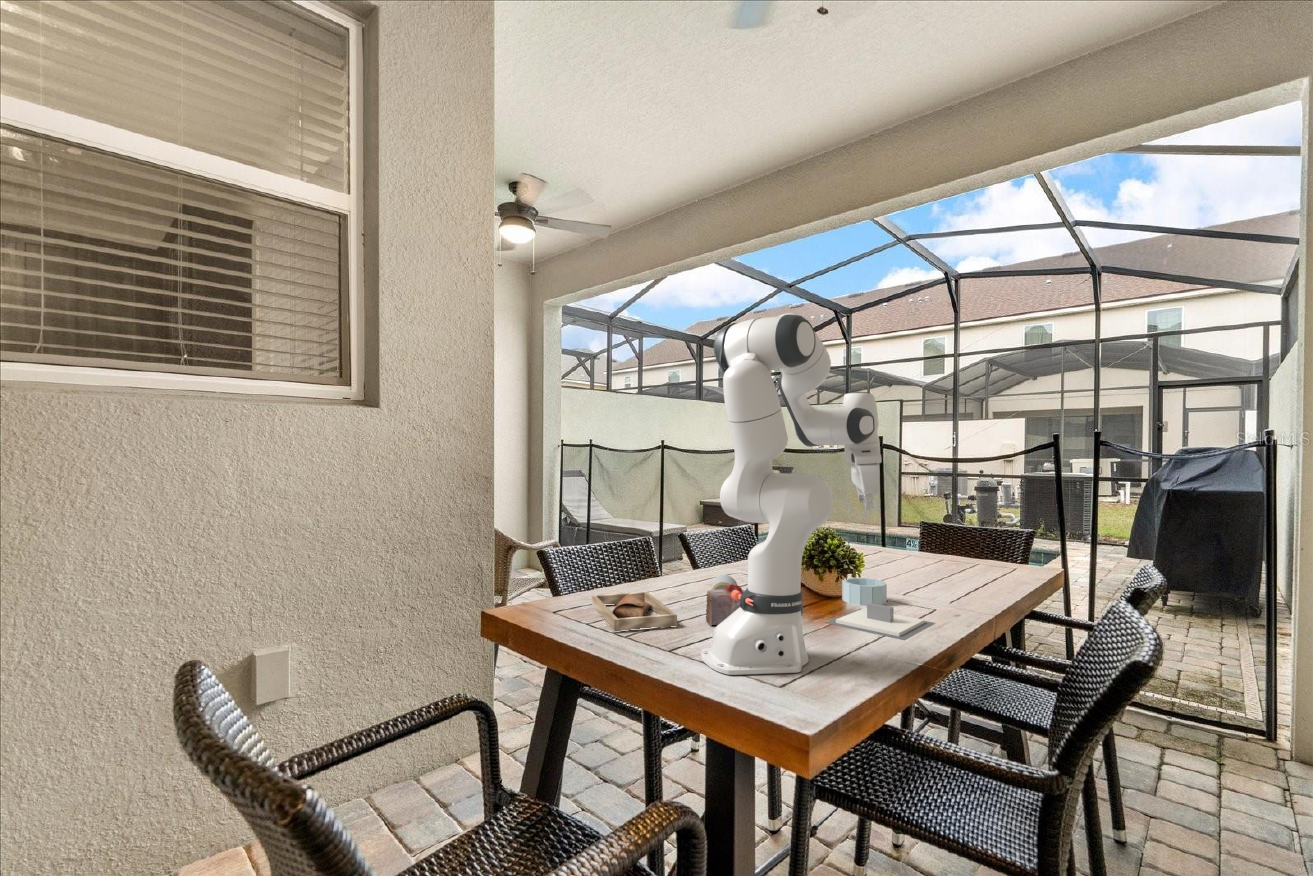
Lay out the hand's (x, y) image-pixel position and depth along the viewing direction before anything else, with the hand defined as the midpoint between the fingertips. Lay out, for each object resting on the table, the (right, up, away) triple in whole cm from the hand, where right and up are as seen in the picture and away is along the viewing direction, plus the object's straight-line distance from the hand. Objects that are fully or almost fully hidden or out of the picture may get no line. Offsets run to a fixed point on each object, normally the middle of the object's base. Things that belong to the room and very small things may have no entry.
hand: (865, 505), depth 158 cm
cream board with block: (+1, -29, -7) cm, 30 cm away
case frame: (-62, -29, 0) cm, 68 cm away
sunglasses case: (-62, -29, 0) cm, 68 cm away
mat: (+1, -30, -7) cm, 30 cm away
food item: (-36, -30, -6) cm, 47 cm away
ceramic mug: (-34, -30, +14) cm, 48 cm away
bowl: (+5, -30, +17) cm, 35 cm away
